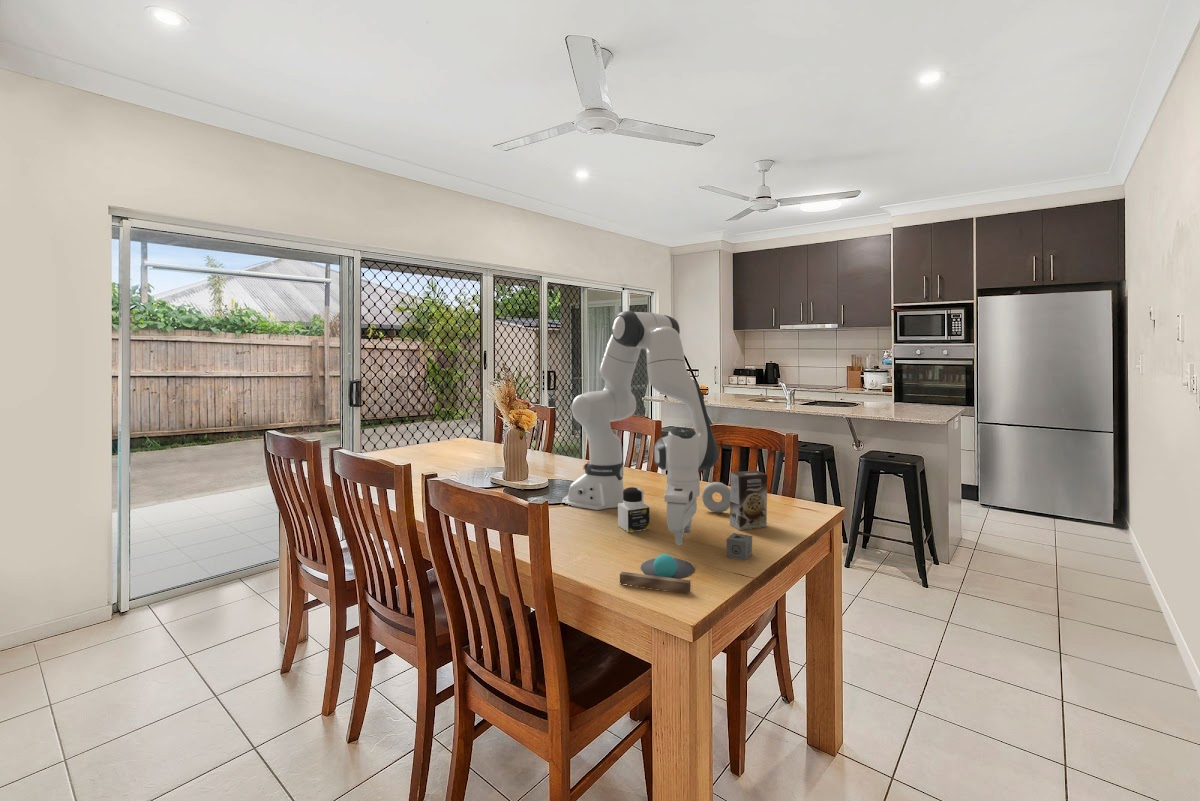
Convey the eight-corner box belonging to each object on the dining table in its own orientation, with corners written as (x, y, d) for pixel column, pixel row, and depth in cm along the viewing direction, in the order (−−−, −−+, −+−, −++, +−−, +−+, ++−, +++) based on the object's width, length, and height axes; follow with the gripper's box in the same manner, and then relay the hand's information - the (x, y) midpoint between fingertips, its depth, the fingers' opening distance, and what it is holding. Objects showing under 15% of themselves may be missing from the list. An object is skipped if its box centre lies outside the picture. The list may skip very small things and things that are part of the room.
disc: (634, 575, 138) (634, 574, 138) (649, 555, 150) (649, 555, 150) (688, 582, 134) (688, 581, 134) (698, 561, 146) (698, 560, 146)
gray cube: (733, 551, 153) (733, 532, 152) (752, 554, 150) (752, 536, 150) (726, 557, 149) (726, 538, 148) (745, 561, 146) (745, 541, 146)
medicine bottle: (628, 533, 169) (627, 492, 167) (617, 526, 175) (617, 487, 174) (649, 529, 171) (649, 489, 170) (638, 523, 178) (638, 484, 177)
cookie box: (739, 530, 169) (740, 476, 167) (729, 524, 175) (729, 471, 173) (767, 527, 171) (768, 474, 170) (756, 521, 177) (756, 469, 176)
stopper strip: (619, 584, 133) (619, 574, 133) (622, 581, 134) (621, 571, 134) (688, 594, 127) (688, 583, 127) (690, 591, 129) (690, 580, 129)
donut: (733, 512, 187) (733, 482, 186) (731, 515, 184) (731, 484, 182) (703, 509, 191) (703, 479, 190) (700, 512, 188) (700, 481, 187)
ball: (656, 568, 140) (650, 579, 135) (657, 548, 139) (651, 558, 134) (678, 573, 139) (673, 585, 134) (680, 552, 137) (674, 563, 132)
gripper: (680, 479, 168) (680, 525, 169) (662, 497, 149) (662, 549, 150) (702, 480, 166) (702, 527, 167) (686, 499, 147) (686, 552, 148)
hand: (683, 538), depth 159 cm, fingers open, 8 cm apart
